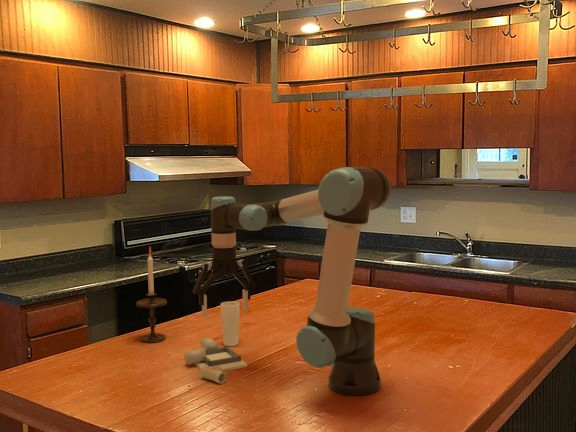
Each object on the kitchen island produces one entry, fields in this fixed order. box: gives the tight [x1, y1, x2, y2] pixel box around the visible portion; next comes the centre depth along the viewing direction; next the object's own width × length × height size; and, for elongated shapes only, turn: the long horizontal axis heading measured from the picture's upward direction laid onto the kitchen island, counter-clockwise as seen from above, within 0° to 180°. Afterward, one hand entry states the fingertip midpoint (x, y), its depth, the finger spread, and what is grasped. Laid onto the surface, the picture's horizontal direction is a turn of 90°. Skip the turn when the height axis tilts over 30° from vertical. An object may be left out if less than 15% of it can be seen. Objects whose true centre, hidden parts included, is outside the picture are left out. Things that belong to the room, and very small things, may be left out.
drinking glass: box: [220, 301, 241, 347], centre depth 216 cm, size 7×7×15 cm
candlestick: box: [136, 245, 168, 344], centre depth 222 cm, size 11×11×35 cm
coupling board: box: [183, 336, 248, 372], centre depth 199 cm, size 22×17×5 cm
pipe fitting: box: [199, 366, 227, 385], centre depth 183 cm, size 8×4×7 cm
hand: (225, 312), depth 190 cm, fingers open, 13 cm apart
